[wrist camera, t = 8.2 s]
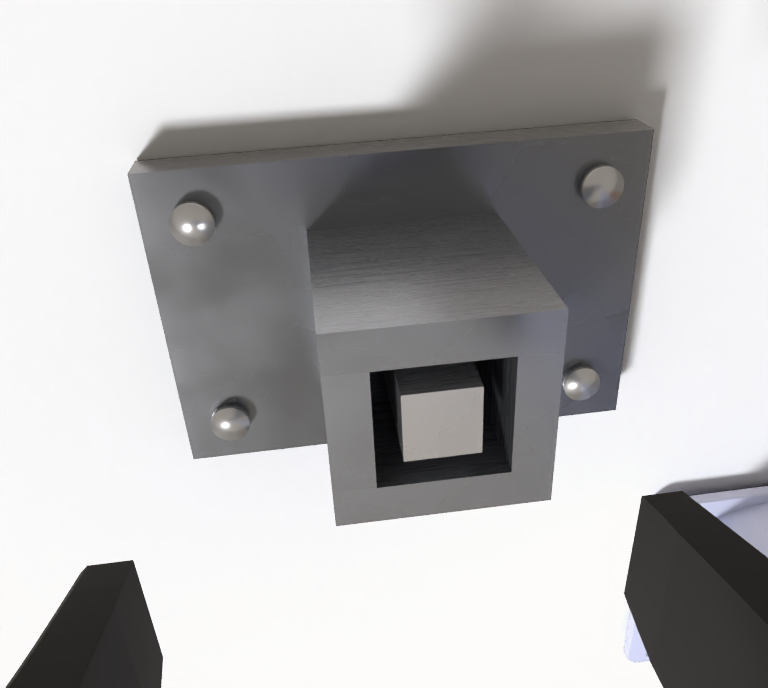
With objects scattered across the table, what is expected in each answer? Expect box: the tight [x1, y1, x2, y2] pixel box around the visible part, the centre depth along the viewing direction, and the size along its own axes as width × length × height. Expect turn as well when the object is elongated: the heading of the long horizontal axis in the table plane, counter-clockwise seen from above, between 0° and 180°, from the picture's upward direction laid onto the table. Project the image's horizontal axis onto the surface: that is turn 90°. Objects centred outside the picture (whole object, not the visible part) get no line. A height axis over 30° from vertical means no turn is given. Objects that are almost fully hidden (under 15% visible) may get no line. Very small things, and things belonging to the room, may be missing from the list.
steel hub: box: [307, 214, 569, 526], centre depth 16 cm, size 5×5×5 cm
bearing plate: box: [128, 119, 654, 462], centre depth 17 cm, size 12×8×6 cm, turn 93°
